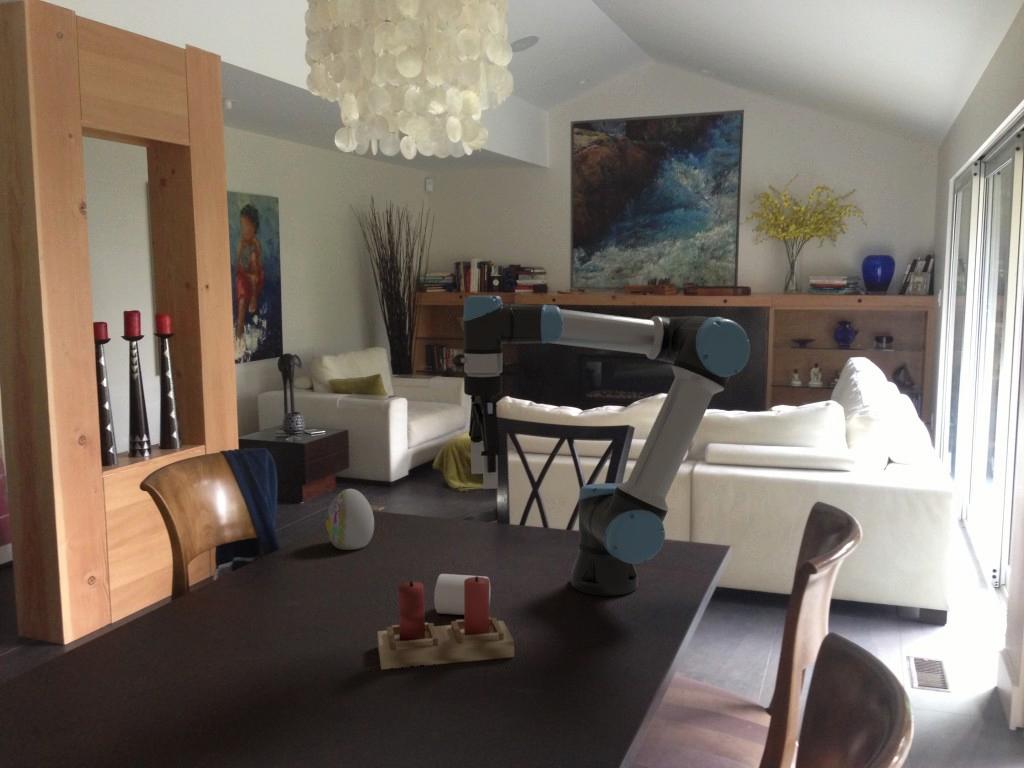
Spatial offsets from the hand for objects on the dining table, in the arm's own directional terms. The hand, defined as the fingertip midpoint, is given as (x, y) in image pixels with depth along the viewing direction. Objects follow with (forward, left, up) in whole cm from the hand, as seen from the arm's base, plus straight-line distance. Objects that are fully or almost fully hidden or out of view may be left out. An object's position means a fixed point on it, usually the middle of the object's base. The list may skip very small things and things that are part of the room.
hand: (484, 480), depth 173 cm
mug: (+3, -6, -29) cm, 30 cm away
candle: (+4, +14, -26) cm, 29 cm away
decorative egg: (+25, -57, -29) cm, 69 cm away
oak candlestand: (+10, +14, -29) cm, 33 cm away
